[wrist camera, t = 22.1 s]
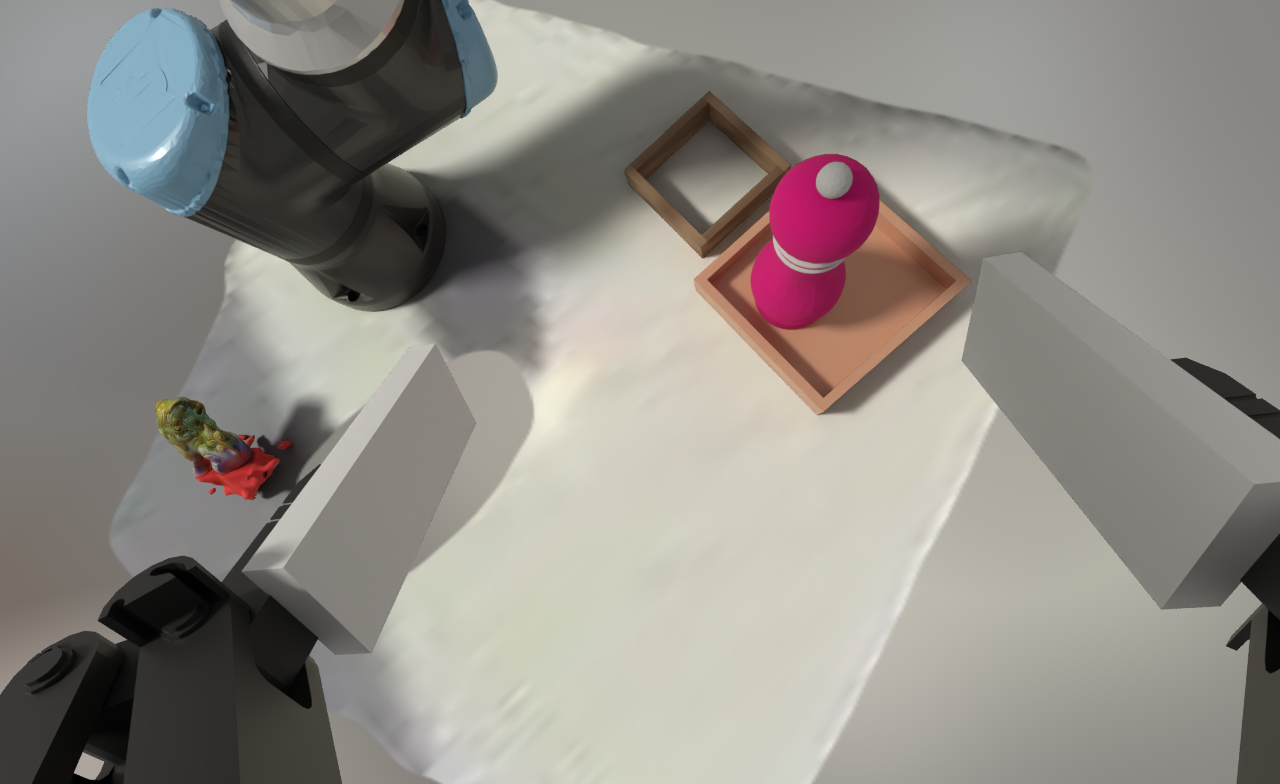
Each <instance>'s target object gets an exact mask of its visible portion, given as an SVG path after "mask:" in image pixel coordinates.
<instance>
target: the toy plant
mask: <svg viewBox="0 0 1280 784" xmlns="http://www.w3.org/2000/svg"><path fill="white" fill-rule="evenodd" d="M156 415H157V426H158V428H159V430H160V433H161V434H162V435H163V436H164V437H165V438H166V439H167V441H168V442H169V443H170V444H172V445H173V446H174V447H175V448H176V449H177V451H178V452H179V453H180V454H181V455H182V456H183V457H185V458H187V459H188V460H190V461H191V463H192V465H193V473H194V475H195V476H196V479H197V480H198V481H200V482H208V483H212V484H214V485H222V486H224V489H225V491H224V492H225V494H226V495H230V494H237V495H240V496H243V497H244V499H245V500H246V499H250V500H254V499H255V498H256V497H255V496H256V495H257V494H256V495H254V494H255V493H256V492H257V490H258V489H259V491H260V487H261V484H262V483H263V482H265V481H267V478H268V477H269V476H270V475H272V472H273V470H274V468H275V467H277V466H278V465H279V464H278V463H280V460H279V459H278V458H276V459H274V456H273V455H269V454H268V455H266V454H265V453H264V452H263V451H262V449H260V448H250V446H251V445H252V443H253V441H254V438H255V435H253V436H251V437H250V438H248V439H247V440H246V441H245V442H244V441H243V440H244V439H245V438H246V436H244V435H238V436H237V435H236V434H234V433H230V432H225V431H223V430H220V429H219V428H218V427H217V425H216V423H215V421H214V420H212V419H211V418H209V416H208V415H207V414H206V412H205V407H204V405H203V404H202V403H200V402H198V401H194V400H189V399H188V398H185V397H179V398H173V399H164V400H161V401H159V402H158V403H157V404H156ZM290 444H292V442H291V441H282V442H280V443H278V444H277V447H278V448H279V449H280V450H285V448H287V447H288V446H290ZM291 446H292V445H291ZM265 471H267V477H266V476H265V475H264V472H265ZM214 492H216V488H213V489H211V490H210V491H209V493H210V494H213V493H214ZM259 495H260V492H259Z"/></svg>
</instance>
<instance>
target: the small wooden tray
mask: <svg viewBox="0 0 1280 784" xmlns="http://www.w3.org/2000/svg"><path fill="white" fill-rule="evenodd" d="M709 120H710V121H711V122H712V123H714V124H715V125H716V126H717V127H718V128H719V129H720V130H721V131H722V132H723V133H724V134H726V135H727V136H728V137H729V138H730V139H731V140H732V141H733V142H734V143H735V144H736V145H737V146H739V147H740V148H741V149H742V150H743V151H744V152H745V153H746V154H747V155H748V156H749V157H751V158H752V159H753V160H754V161H755V162H756V163H757V164H758V165H759V166H760V167H761V168H762V169H764V170H765V171H766V172H767V173H768V175H767V176H766V177H765V178H763V179H762V180H761V181H760V182H759V183H758V184H757V185H756V186H755V187H754V188H753V189H751V190H750V191H749V192H748V193H747V194H746V195H745V196H744V197H743V198H742V199H741V200H739V201H738V202H737V203H736V204H735V205H734V206H733V207H732V208H731V209H730V210H728V211H727V212H726V213H725V214H724V215H723V216H722V217H721V218H720V219H719V220H718V221H716V222H715V223H714V224H713V225H712V226H711V227H710V228H709V229H708V230H707V231H706V232H704V233H703V234H702V235H701V234H700V233H699V232H698V231H697V230H696V229H695V228H694V227H693V226H692V225H691V224H690V223H689V222H688V221H687V220H686V219H685V218H684V217H683V216H681V215H680V214H679V213H678V212H677V211H676V210H675V209H674V208H673V207H672V206H671V205H670V204H669V203H668V202H667V201H666V200H665V199H664V198H663V197H662V196H661V195H660V194H659V193H658V192H657V191H656V190H655V189H654V188H653V187H652V186H651V185H650V184H649V183H648V182H647V181H646V179H647V178H648V177H649V176H650V175H651V174H652V173H653V172H654V171H655V170H656V169H657V168H659V167H660V166H661V165H662V164H663V163H664V162H665V161H666V160H667V159H668V158H669V157H670V156H671V155H673V154H674V153H675V152H676V151H677V150H678V149H679V148H680V147H681V146H682V145H683V144H684V143H685V142H687V141H688V140H689V139H690V138H691V137H692V136H693V135H694V134H695V133H696V132H697V131H698V130H699V129H701V128H702V127H703V126H704V125H705V124H706V123H707V122H708V121H709ZM790 168H791V164H789V163H788V162H787V161H786V160H785V159H784V158H783V157H782V156H781V155H779V154H778V153H777V152H776V151H775V150H774V149H773V148H772V147H771V146H770V145H768V144H767V143H766V142H765V141H764V140H763V139H762V138H761V137H760V136H758V135H757V134H756V133H755V132H754V131H753V130H752V129H751V128H750V127H748V126H747V125H746V124H745V123H744V122H743V121H742V120H741V119H740V118H738V117H737V116H736V115H735V114H734V113H733V112H732V111H731V110H730V109H729V108H727V107H726V106H725V105H724V104H723V103H722V102H721V101H720V100H719V99H717V98H716V97H715V96H714V95H713V94H712V93H711V92H710V91H709V92H708V93H707V94H706V95H704V96H703V97H702V98H701V99H700V100H699V101H698V102H697V103H696V104H695V105H694V106H693V107H692V108H691V109H689V110H688V111H687V112H686V113H685V114H684V115H683V116H682V117H681V118H680V119H679V120H678V121H677V122H676V123H674V124H673V125H672V126H671V127H670V128H669V129H668V130H667V131H666V132H665V133H664V134H663V135H662V136H660V137H659V138H658V139H657V140H656V141H655V142H654V143H653V144H652V145H651V146H650V147H649V148H648V149H647V150H645V151H644V152H643V153H642V154H641V155H640V156H639V157H638V158H637V159H636V160H635V161H634V162H633V163H632V164H630V165H629V166H628V167H627V168H626V169H625V170H624V172H625V175H626V177H627V180H628V183H629V185H630V186H631V187H632V188H633V189H634V190H635V191H636V192H637V193H638V194H639V195H640V196H641V197H642V198H643V199H644V200H645V201H646V202H647V203H648V204H649V205H650V206H651V207H652V208H653V209H654V210H655V211H656V212H657V213H658V214H659V215H660V216H661V217H662V218H663V219H664V220H665V221H666V222H667V223H668V224H669V225H670V226H671V227H672V228H673V229H674V230H675V231H676V232H677V233H678V234H679V235H680V236H681V237H682V238H683V239H684V240H685V241H686V242H687V243H688V244H689V245H690V246H691V247H692V248H693V249H694V250H695V251H696V252H697V253H698V254H699V255H700V256H701V257H702V258H703V257H704V256H705V255H706V254H707V253H709V252H710V251H711V250H712V249H713V248H714V247H715V246H716V245H717V244H718V243H719V242H721V241H722V240H723V239H724V238H725V237H726V236H727V235H728V234H729V233H730V232H732V231H733V230H734V229H735V228H736V227H737V226H738V225H739V224H740V223H741V222H742V221H744V220H745V219H746V218H747V217H748V216H749V215H750V214H751V213H752V212H753V211H755V210H756V209H757V208H758V207H759V206H760V205H761V204H762V203H763V202H764V201H765V200H767V199H768V198H769V197H770V196H771V195H772V194H773V193H774V192H775V189H776V187H777V185H778V184H779V182H780V180H781V179H782V178H783V177H784V176H785V174H786V173H787V172H788V171H789V170H790Z"/></svg>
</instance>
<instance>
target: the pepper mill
mask: <svg viewBox="0 0 1280 784" xmlns="http://www.w3.org/2000/svg"><path fill="white" fill-rule="evenodd" d="M879 206H880V200H879V192H878V188H877V184H876V182H875V180H874V178H873V176H872V175H871V174H870V172H869V171H868V170H867V168H865V167H864V166H863V165H862V164H860V163H859V162H858V161H856V160H854V159H852V158H849V157H847V156H843V155H838V154H825V155H819V156H815V157H812V158H809V159H806V160H804V161H802V162H800V163H798V164H797V165H795V166H794V167H793V168H791V169H790V170H789V171H788V172H787V173H786V174H785V176H784V177H783V178H782V179H781V180H780V182H779V184H778V185H777V187H776V189H775V192H774V194H773V196H772V199H771V203H770V208H769V221H770V226H771V231H772V234H773V239H772V240H771V241H770V242H769V243H767V244H766V245H765V246H764V248H763V249H762V250H761V251H760V252H759V254H758V256H757V258H756V260H755V262H754V265H753V268H752V272H751V281H750V282H751V290H752V293H753V296H754V299H755V304H756V307H757V309H758V311H759V313H760V315H761V316H762V317H763V318H764V319H765V320H766V321H767V322H768V323H770V324H771V325H773V326H775V327H778V328H781V329H787V330H795V329H800V328H804V327H806V326H809V325H810V324H812V323H813V322H815V321H816V320H817V319H818V318H820V317H822V316H824V315H825V314H827V313H828V312H829V311H830V310H831V309H832V308H833V307H834V306H835V304H836V303H837V302H838V300H839V298H840V296H841V294H842V291H843V289H844V286H845V280H846V267H845V262H844V260H845V258H846V257H848V256H849V255H850V254H852V253H853V252H854V251H856V250H857V249H859V248H860V247H861V246H862V245H863V244H864V242H865V241H866V240H867V239H868V237H869V236H870V234H871V233H872V231H873V229H874V227H875V224H876V221H877V218H878V215H879Z"/></svg>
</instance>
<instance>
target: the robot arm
mask: <svg viewBox="0 0 1280 784" xmlns="http://www.w3.org/2000/svg"><path fill="white" fill-rule="evenodd" d="M219 1H220V4H221V7H222V9H223V12H224V14H225V16H226V18H227V20H225V21H224V22H222V23H220V24H219V25H218V26H216V27H214V28H213V29H211V30H209V29H208V28H207V26H206V25H205V24H204V23H203V22H202V21H201V20H198V19H197V18H196V17H192V16H191V15H187V14H185V13H183V12H182V11H179V10H176V9H171V8H165V9H163V10H161V9H158V8H156V9H149V10H147V11H144V12H142V13H140V14H138V15H136V16H135V17H133V18H131V19H130V20H129V21H128V22H126V23H125V24H124V26H122V27H121V28H120V29H119V30H118V32H117V33H116V34H115V35H114V36H113V38H112V39H111V40H110V42H109V43H108V45H107V46H106V48H105V50H104V52H103V54H102V56H101V57H100V59H99V62H98V64H97V66H96V69H95V72H94V75H93V78H92V83H91V88H90V91H89V97H88V107H87V118H88V129H89V133H90V138H91V142H92V145H93V148H94V150H95V152H96V155H97V157H98V159H99V160H100V162H101V164H102V165H103V166H104V168H105V169H106V170H107V171H108V173H109V174H110V175H111V176H112V177H113V178H114V179H116V180H117V181H118V182H119V183H120V184H122V185H123V186H125V187H126V188H128V189H130V190H132V191H134V192H136V193H138V194H140V195H142V196H144V197H145V198H147V199H149V200H151V201H153V202H155V203H157V204H159V205H161V206H163V207H164V208H165V209H166V210H167V211H169V212H171V213H172V214H174V215H179V216H181V217H182V216H183V217H186V218H188V219H190V220H193V221H195V222H197V223H200V224H202V225H204V226H207V227H209V228H212V229H214V230H216V231H218V232H221V233H223V234H225V235H228V236H230V237H232V238H235V239H237V240H239V241H242V242H244V243H246V244H249V245H251V246H254V247H256V248H258V249H261V250H263V251H265V252H268V253H270V254H272V255H275V256H277V257H279V258H281V259H284V260H286V261H288V262H290V263H291V264H292V265H293V266H294V267H295V268H296V269H297V270H298V271H299V272H300V273H301V274H302V275H303V276H304V277H305V278H306V279H307V280H308V281H309V282H310V283H311V284H312V285H313V286H314V287H316V288H317V289H318V290H319V291H320V292H321V293H322V294H324V295H325V296H327V297H328V298H330V299H332V300H334V301H336V302H338V303H341V304H343V305H346V306H348V307H351V308H353V309H357V310H362V311H381V310H386V309H389V308H393V307H395V306H398V305H400V304H402V303H403V302H405V301H407V300H408V299H410V298H411V297H413V296H414V295H415V294H416V293H418V292H419V291H420V290H421V289H422V288H423V287H424V285H425V284H426V283H427V282H428V281H429V279H430V278H431V276H432V275H433V273H434V271H435V270H436V268H437V266H438V263H439V261H440V258H441V255H442V252H443V248H444V242H445V224H444V218H443V214H442V211H441V208H440V206H439V204H438V202H437V200H436V198H435V197H434V195H433V194H432V193H431V192H430V191H429V190H428V189H427V188H426V187H425V186H424V185H423V184H422V183H421V182H419V181H418V180H417V179H416V178H415V177H414V176H412V175H411V174H410V173H408V172H406V171H405V170H403V169H401V168H399V167H396V166H394V165H391V164H388V162H390V161H391V160H393V159H394V158H396V157H398V156H399V155H401V154H402V153H404V152H406V151H407V150H409V149H410V148H412V147H414V146H415V145H417V144H419V143H420V142H422V141H423V140H425V139H427V138H428V137H430V136H432V135H433V134H435V133H436V132H438V131H440V130H441V129H443V128H445V127H446V126H448V125H449V124H451V123H453V122H454V121H456V120H458V119H459V118H463V117H465V116H467V115H468V114H469V112H470V111H471V109H472V108H473V107H475V106H476V105H477V104H479V103H480V102H481V101H483V100H484V99H486V98H487V97H488V96H489V95H491V94H492V92H493V91H494V89H495V87H496V84H497V78H498V75H497V68H496V64H495V60H494V57H493V55H492V52H491V49H490V47H489V44H488V42H487V39H486V37H485V35H484V32H483V30H482V28H481V25H480V23H479V21H478V19H477V17H476V15H475V13H474V11H473V9H472V7H471V6H470V5H469V2H468V0H219ZM962 362H963V363H964V364H965V365H966V367H967V368H968V369H969V370H970V372H971V373H972V374H973V375H974V377H975V378H976V379H977V380H978V382H979V383H980V384H981V385H982V387H983V388H984V389H985V390H986V392H987V393H988V394H989V395H990V397H991V398H992V399H993V400H994V402H995V403H996V404H997V405H998V407H999V408H1000V409H1001V410H1002V411H1003V413H1004V414H1005V415H1006V416H1007V418H1008V419H1009V420H1010V421H1011V423H1012V424H1013V425H1014V426H1015V428H1016V429H1017V430H1018V431H1019V433H1020V434H1021V435H1022V436H1023V438H1024V439H1025V440H1026V441H1027V443H1028V444H1029V445H1030V446H1031V448H1032V449H1033V450H1034V451H1035V453H1036V454H1037V455H1038V456H1039V458H1040V459H1041V460H1042V461H1043V463H1044V464H1045V465H1046V466H1047V468H1048V469H1049V470H1050V471H1051V473H1052V474H1053V475H1054V476H1055V478H1056V479H1057V480H1058V481H1059V483H1060V484H1061V485H1062V486H1063V488H1064V489H1065V490H1066V491H1067V493H1068V494H1069V495H1070V496H1071V498H1072V499H1073V500H1074V501H1075V503H1076V504H1077V505H1078V506H1079V508H1080V509H1081V510H1082V511H1083V513H1084V514H1085V515H1086V516H1087V518H1088V519H1089V520H1090V521H1091V523H1092V524H1093V525H1094V526H1095V527H1096V529H1097V530H1098V531H1099V532H1100V534H1101V535H1102V536H1103V537H1104V539H1105V540H1106V541H1107V543H1108V544H1109V545H1110V546H1111V547H1112V549H1113V550H1114V551H1115V552H1116V554H1117V555H1118V556H1119V558H1120V559H1121V560H1122V561H1123V562H1124V564H1125V565H1126V566H1127V567H1128V569H1129V570H1130V571H1131V572H1132V574H1133V575H1134V576H1135V577H1136V579H1137V580H1138V581H1139V582H1140V584H1141V585H1142V586H1143V587H1144V589H1145V590H1146V591H1147V592H1148V594H1149V595H1150V596H1151V597H1152V599H1153V600H1154V601H1155V602H1156V604H1157V605H1158V606H1159V607H1160V609H1178V608H1196V607H1214V606H1221V605H1222V604H1223V603H1224V601H1225V600H1226V599H1227V598H1228V597H1229V596H1230V595H1231V593H1232V592H1233V591H1234V590H1235V589H1236V588H1237V586H1238V585H1239V584H1240V583H1241V582H1242V583H1243V584H1244V585H1245V586H1246V587H1247V588H1248V589H1249V590H1250V591H1251V592H1252V593H1253V594H1254V595H1255V596H1256V597H1257V598H1258V599H1259V600H1260V601H1261V602H1262V604H1261V605H1260V606H1259V608H1258V609H1257V610H1256V611H1255V612H1254V613H1253V614H1252V615H1251V616H1250V617H1249V618H1248V619H1247V620H1246V621H1245V622H1244V623H1243V624H1242V625H1241V627H1239V629H1238V630H1237V631H1236V632H1235V633H1234V634H1233V635H1232V636H1231V638H1230V640H1229V641H1228V643H1227V645H1226V646H1227V647H1229V648H1232V649H1234V650H1238V649H1239V648H1240V647H1241V646H1242V645H1243V644H1244V643H1245V642H1246V641H1247V640H1249V639H1250V644H1249V654H1248V666H1247V676H1246V688H1245V699H1244V710H1243V720H1242V732H1241V742H1240V753H1239V764H1238V776H1237V784H1280V410H1278V409H1277V408H1275V407H1274V406H1272V405H1271V404H1270V403H1268V402H1267V401H1265V400H1263V399H1257V398H1256V394H1255V393H1253V392H1252V391H1250V390H1249V389H1247V388H1246V387H1244V386H1243V385H1242V384H1240V383H1239V382H1237V381H1236V380H1234V379H1233V378H1231V377H1230V376H1228V375H1227V374H1225V373H1223V372H1220V371H1218V370H1215V369H1213V368H1210V367H1208V366H1205V365H1202V364H1200V363H1197V362H1195V361H1193V360H1190V359H1188V358H1180V359H1171V360H1170V359H1168V358H1167V357H1166V356H1164V355H1163V354H1161V353H1160V352H1159V351H1157V350H1156V349H1155V348H1153V347H1152V346H1150V345H1149V344H1148V343H1146V342H1145V341H1144V340H1142V339H1141V338H1139V337H1138V336H1137V335H1135V334H1134V333H1133V332H1131V331H1130V330H1128V329H1127V328H1126V327H1124V326H1123V325H1121V324H1120V323H1119V322H1117V321H1116V320H1115V319H1113V318H1112V317H1111V316H1109V315H1108V314H1106V313H1105V312H1103V311H1102V310H1101V309H1099V308H1098V307H1097V306H1095V305H1094V304H1092V303H1091V302H1090V301H1088V300H1087V299H1086V298H1084V297H1083V296H1081V295H1080V294H1079V293H1077V292H1076V291H1075V290H1073V289H1072V288H1070V287H1069V286H1068V285H1066V284H1065V283H1063V282H1062V281H1061V280H1060V279H1058V278H1057V277H1055V276H1054V275H1053V274H1051V273H1050V272H1048V271H1047V270H1046V269H1044V268H1043V267H1042V266H1040V265H1039V264H1037V263H1036V262H1035V261H1033V260H1032V259H1031V258H1029V257H1028V256H1026V255H1025V254H1024V253H1022V252H1016V253H1010V254H1003V255H997V256H991V257H984V258H983V260H982V265H981V270H980V275H979V280H978V284H977V289H976V294H975V299H974V304H973V308H972V313H971V318H970V323H969V327H968V332H967V337H966V342H965V347H964V351H963V356H962ZM475 424H476V421H475V419H474V417H473V416H472V413H471V412H470V410H469V408H468V406H467V404H466V402H465V400H464V398H463V396H462V394H461V392H460V390H459V388H458V386H457V384H456V382H455V380H454V378H453V376H452V375H451V373H450V371H449V369H448V367H447V365H446V363H445V361H444V359H443V357H442V355H441V353H440V351H439V349H438V347H437V345H436V343H435V344H428V345H422V346H415V347H409V348H408V349H407V350H406V352H405V353H404V354H403V356H402V357H401V359H400V360H399V361H398V363H397V364H396V365H395V367H394V368H393V369H392V371H391V372H390V373H389V375H388V376H387V377H386V379H385V380H384V381H383V383H382V384H381V385H380V387H379V388H378V389H377V391H376V392H375V393H374V395H373V396H372V397H371V399H370V400H369V401H368V403H367V404H366V405H365V407H364V408H363V409H362V411H361V412H360V413H359V415H358V416H357V417H356V419H355V420H354V421H353V423H352V424H351V425H350V427H349V428H348V429H347V431H346V432H345V433H344V435H343V436H342V437H341V439H340V440H339V442H338V443H337V444H336V446H335V447H334V448H333V450H332V451H331V452H330V454H329V455H328V456H327V458H326V459H325V460H324V462H323V463H322V464H320V465H318V466H317V467H316V468H315V469H313V470H312V471H311V472H310V473H309V474H308V475H306V476H305V477H304V478H303V479H302V480H301V481H299V482H298V483H297V485H296V486H295V487H294V489H293V490H292V491H291V493H290V494H289V495H288V496H287V498H286V499H285V500H284V502H283V506H280V507H279V508H278V509H277V511H276V512H275V513H274V515H273V516H272V517H271V522H270V523H267V524H266V525H265V526H264V528H263V529H262V530H261V532H260V533H259V534H258V536H257V537H256V538H255V539H254V541H253V542H252V543H251V545H250V546H249V547H248V549H247V550H246V551H245V552H244V554H243V555H242V556H241V558H240V559H239V560H238V562H237V563H236V564H235V566H234V567H233V568H232V569H231V571H230V572H229V573H228V575H227V576H226V577H225V579H224V580H223V581H222V582H220V581H219V580H218V579H217V578H216V577H215V576H213V575H212V574H211V573H210V572H209V571H207V570H206V569H205V568H204V567H203V566H201V565H200V564H199V563H198V562H197V561H195V560H194V559H193V558H190V557H186V556H178V557H173V558H168V559H166V560H164V561H162V562H159V563H157V564H155V565H152V566H151V567H149V568H147V569H146V570H144V571H143V572H141V573H140V574H138V575H137V576H135V577H133V578H132V579H131V580H130V581H129V582H128V583H126V584H125V585H124V586H123V587H122V588H121V589H119V590H118V591H117V592H116V593H115V595H114V596H113V597H112V598H111V599H110V600H109V602H108V603H107V604H106V605H105V607H104V608H103V610H102V612H101V614H100V617H99V619H98V621H99V622H101V623H102V624H104V625H106V626H107V627H108V628H110V629H112V630H113V631H115V632H116V633H118V634H119V635H121V636H123V637H124V638H126V639H127V640H125V641H122V642H120V643H117V644H114V643H112V642H111V641H109V640H107V639H106V638H104V637H103V636H101V635H100V634H98V633H96V632H90V631H83V632H80V633H76V634H73V635H70V636H68V637H66V638H64V639H62V640H60V641H58V642H57V643H55V644H53V645H50V646H49V647H47V648H46V649H44V650H43V651H42V652H41V653H38V654H37V655H36V656H35V657H33V658H32V659H31V660H30V661H29V662H28V663H27V664H26V666H24V667H23V668H22V669H21V670H20V671H19V672H18V673H17V674H16V675H15V676H14V677H13V678H12V680H11V681H10V682H9V684H8V685H7V686H6V688H5V689H4V690H3V692H2V693H1V695H0V784H342V781H341V776H340V771H339V766H338V762H337V757H336V752H335V747H334V742H333V737H332V732H331V728H330V722H329V718H328V713H327V708H326V703H325V698H324V693H323V688H322V683H321V679H320V674H319V669H318V666H317V664H316V663H315V661H314V659H313V658H311V657H310V656H309V654H310V652H311V650H312V649H313V647H314V645H315V643H316V641H317V640H319V641H320V642H322V643H323V644H324V645H325V646H326V647H327V648H328V649H330V650H331V651H332V652H333V653H334V654H335V655H340V654H358V653H371V652H372V650H373V648H374V646H375V644H376V642H377V639H378V637H379V635H380V633H381V631H382V628H383V626H384V624H385V622H386V620H387V617H388V615H389V613H390V611H391V609H392V606H393V604H394V602H395V600H396V598H397V596H398V593H399V591H400V589H401V587H402V585H403V582H404V580H405V578H406V576H407V574H408V571H409V569H410V567H411V565H412V563H413V560H414V558H415V556H416V554H417V552H418V549H419V547H420V545H421V543H422V541H423V539H424V536H425V534H426V532H427V530H428V527H429V525H430V523H431V521H432V519H433V517H434V514H435V512H436V510H437V508H438V506H439V503H440V501H441V499H442V497H443V495H444V492H445V490H446V488H447V486H448V484H449V481H450V479H451V477H452V475H453V473H454V470H455V468H456V466H457V464H458V462H459V460H460V457H461V455H462V453H463V451H464V449H465V446H466V444H467V442H468V440H469V438H470V436H471V433H472V431H473V429H474V427H475ZM82 752H84V753H86V754H88V755H91V756H93V757H95V758H97V759H100V760H102V761H104V765H103V767H102V770H101V772H100V773H99V775H98V776H97V778H96V779H95V780H89V779H87V778H84V777H82V776H79V775H77V774H74V771H75V769H76V766H77V764H78V762H79V759H80V757H81V755H82Z"/></svg>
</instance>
